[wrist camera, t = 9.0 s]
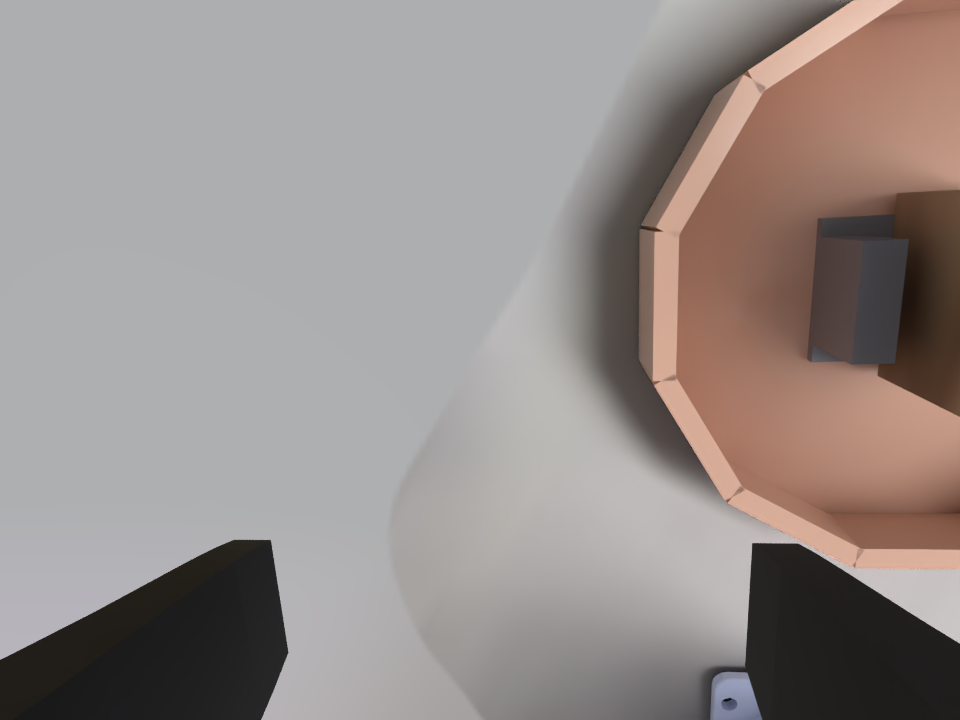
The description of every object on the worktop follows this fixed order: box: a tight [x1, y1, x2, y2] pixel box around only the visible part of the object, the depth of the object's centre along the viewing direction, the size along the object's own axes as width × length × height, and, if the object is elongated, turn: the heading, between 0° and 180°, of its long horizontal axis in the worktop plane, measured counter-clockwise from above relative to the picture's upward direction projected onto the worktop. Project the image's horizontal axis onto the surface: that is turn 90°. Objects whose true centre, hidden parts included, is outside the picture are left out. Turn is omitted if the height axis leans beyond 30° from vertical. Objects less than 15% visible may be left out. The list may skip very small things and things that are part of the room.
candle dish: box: [639, 0, 960, 569], centre depth 15 cm, size 15×15×3 cm
